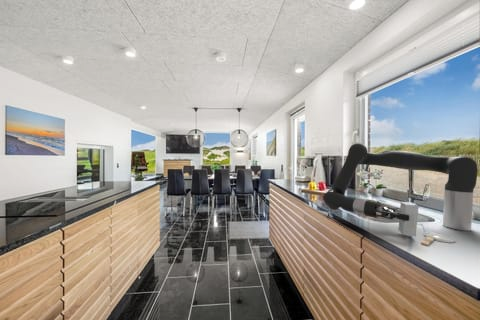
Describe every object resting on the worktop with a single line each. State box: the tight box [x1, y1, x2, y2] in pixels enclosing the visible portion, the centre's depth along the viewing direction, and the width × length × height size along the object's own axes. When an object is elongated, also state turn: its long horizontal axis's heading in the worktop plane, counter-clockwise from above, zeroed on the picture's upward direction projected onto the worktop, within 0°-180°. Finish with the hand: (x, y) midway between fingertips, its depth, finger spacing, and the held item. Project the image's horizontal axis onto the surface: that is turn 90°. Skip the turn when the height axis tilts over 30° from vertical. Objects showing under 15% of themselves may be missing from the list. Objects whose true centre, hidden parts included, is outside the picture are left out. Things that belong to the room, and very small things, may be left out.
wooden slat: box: [420, 237, 436, 247], centre depth 78 cm, size 10×2×1 cm, turn 127°
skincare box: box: [398, 201, 419, 237], centre depth 83 cm, size 6×4×12 cm
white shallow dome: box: [423, 231, 456, 244], centre depth 82 cm, size 9×9×1 cm
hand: (411, 216), depth 82 cm, fingers closed on skincare box, 7 cm apart
